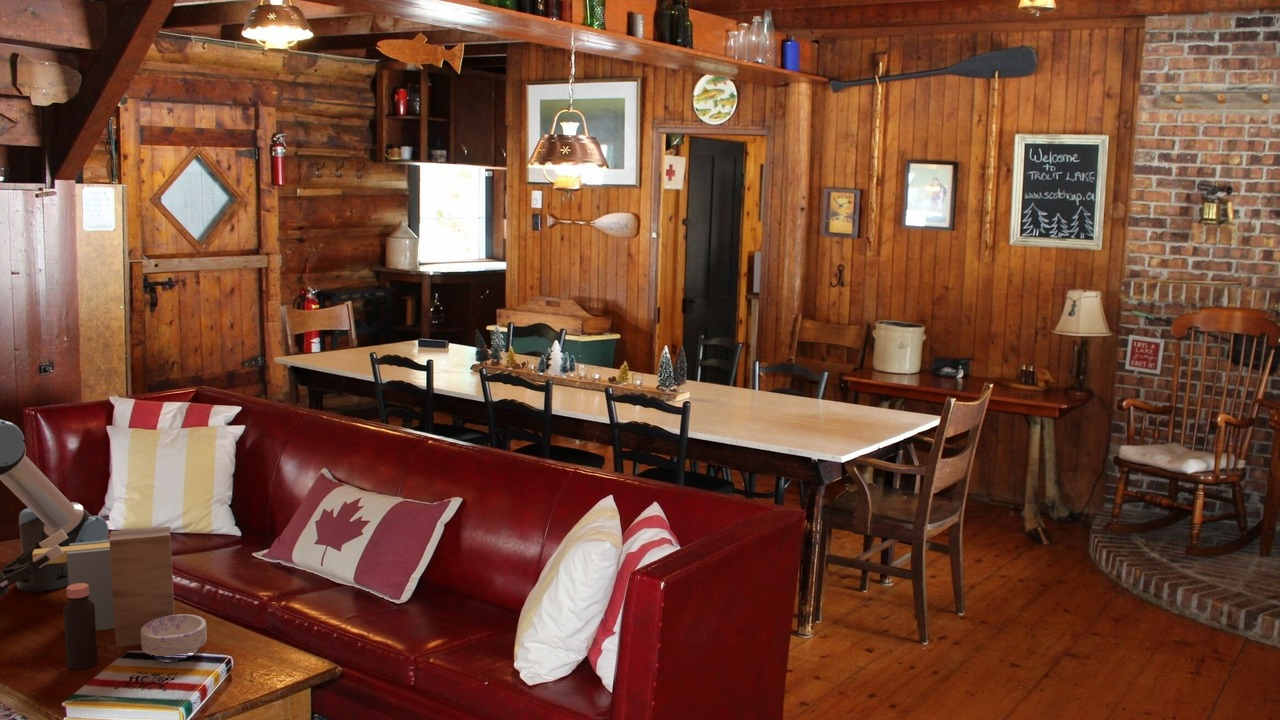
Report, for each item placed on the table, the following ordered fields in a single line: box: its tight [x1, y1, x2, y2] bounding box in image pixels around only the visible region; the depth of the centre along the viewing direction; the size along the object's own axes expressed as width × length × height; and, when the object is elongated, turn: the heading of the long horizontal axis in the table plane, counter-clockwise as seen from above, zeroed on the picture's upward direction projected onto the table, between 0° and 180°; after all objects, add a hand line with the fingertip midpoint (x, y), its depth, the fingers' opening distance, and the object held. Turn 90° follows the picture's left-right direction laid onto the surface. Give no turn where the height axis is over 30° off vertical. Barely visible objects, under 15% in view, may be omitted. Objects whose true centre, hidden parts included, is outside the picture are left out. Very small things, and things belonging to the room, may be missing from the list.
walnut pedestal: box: [109, 525, 176, 648], centre depth 301 cm, size 8×14×28 cm, turn 111°
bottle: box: [63, 583, 99, 671], centre depth 285 cm, size 7×7×20 cm
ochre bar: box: [32, 543, 110, 564], centre depth 308 cm, size 4×24×3 cm, turn 111°
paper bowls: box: [140, 613, 208, 656], centre depth 293 cm, size 15×15×8 cm
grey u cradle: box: [67, 540, 115, 632], centre depth 311 cm, size 9×16×22 cm, turn 111°
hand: (63, 541), depth 306 cm, fingers open, 13 cm apart
